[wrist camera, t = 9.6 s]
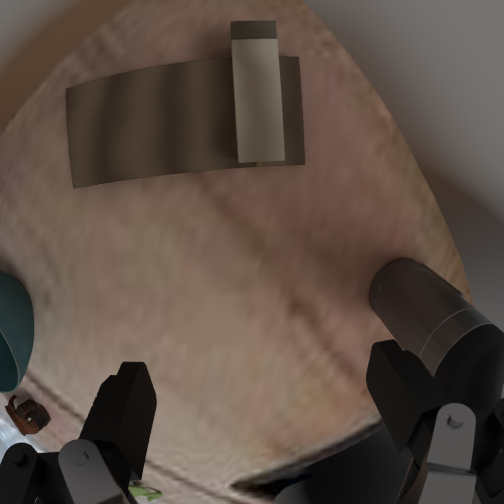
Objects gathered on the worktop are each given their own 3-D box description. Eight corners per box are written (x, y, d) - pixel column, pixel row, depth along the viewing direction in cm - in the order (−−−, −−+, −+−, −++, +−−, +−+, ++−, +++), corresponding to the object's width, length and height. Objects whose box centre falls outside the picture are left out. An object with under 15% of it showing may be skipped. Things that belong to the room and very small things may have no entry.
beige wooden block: (267, 41, 27) (275, 20, 21) (275, 163, 32) (285, 168, 26) (230, 43, 27) (230, 21, 21) (238, 165, 32) (239, 170, 26)
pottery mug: (54, 427, 48) (29, 444, 41) (30, 394, 50) (5, 409, 43) (51, 412, 42) (21, 431, 35) (24, 373, 44) (-5, 391, 37)
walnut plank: (294, 61, 29) (298, 56, 27) (300, 163, 33) (304, 164, 31) (73, 90, 28) (66, 88, 26) (81, 185, 32) (73, 188, 30)
